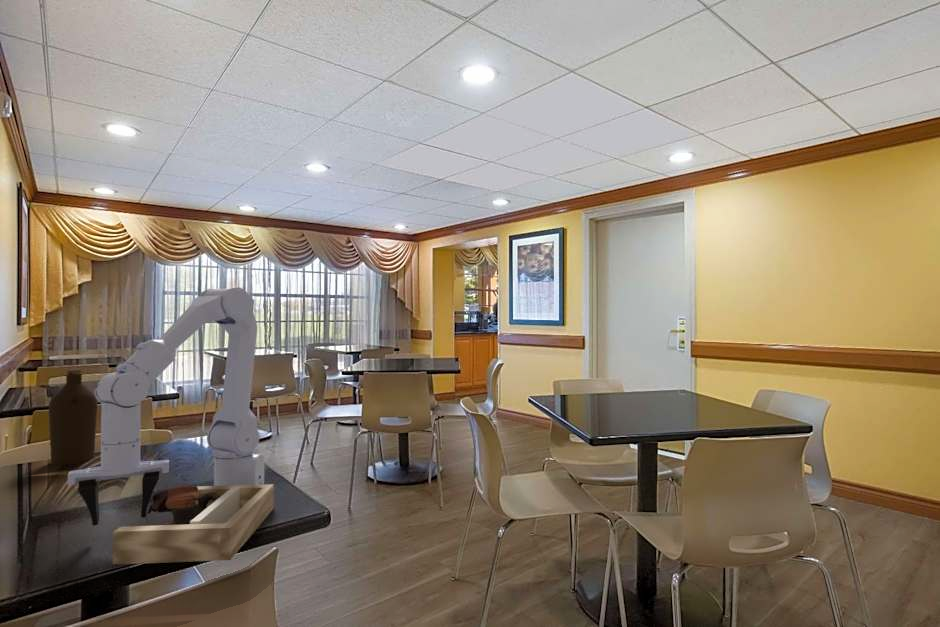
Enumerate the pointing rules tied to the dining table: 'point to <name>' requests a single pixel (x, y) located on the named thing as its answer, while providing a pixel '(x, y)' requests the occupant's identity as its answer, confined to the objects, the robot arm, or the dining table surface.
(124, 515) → the dining table surface
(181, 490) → the pottery mug
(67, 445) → the olive oil
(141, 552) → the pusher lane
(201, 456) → the dining table surface
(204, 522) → the pusher plate
